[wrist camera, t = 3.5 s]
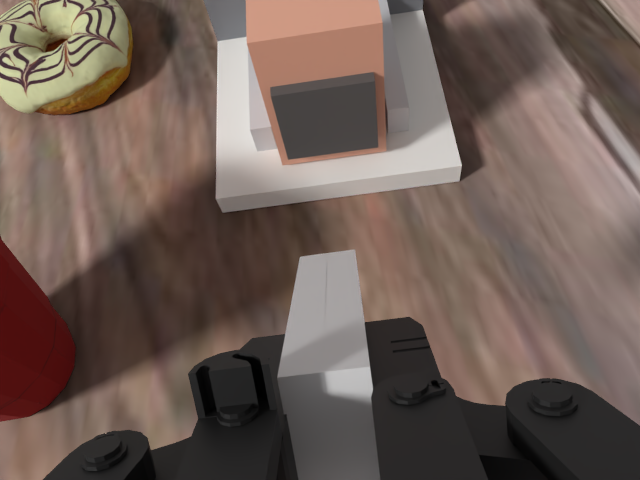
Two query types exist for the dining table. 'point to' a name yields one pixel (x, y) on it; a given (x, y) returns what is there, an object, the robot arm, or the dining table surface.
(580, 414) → the robot arm
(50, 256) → the dining table surface
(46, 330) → the plastic cup
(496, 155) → the dining table surface
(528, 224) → the dining table surface
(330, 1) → the plug block
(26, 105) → the decorated donut
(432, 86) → the stand
